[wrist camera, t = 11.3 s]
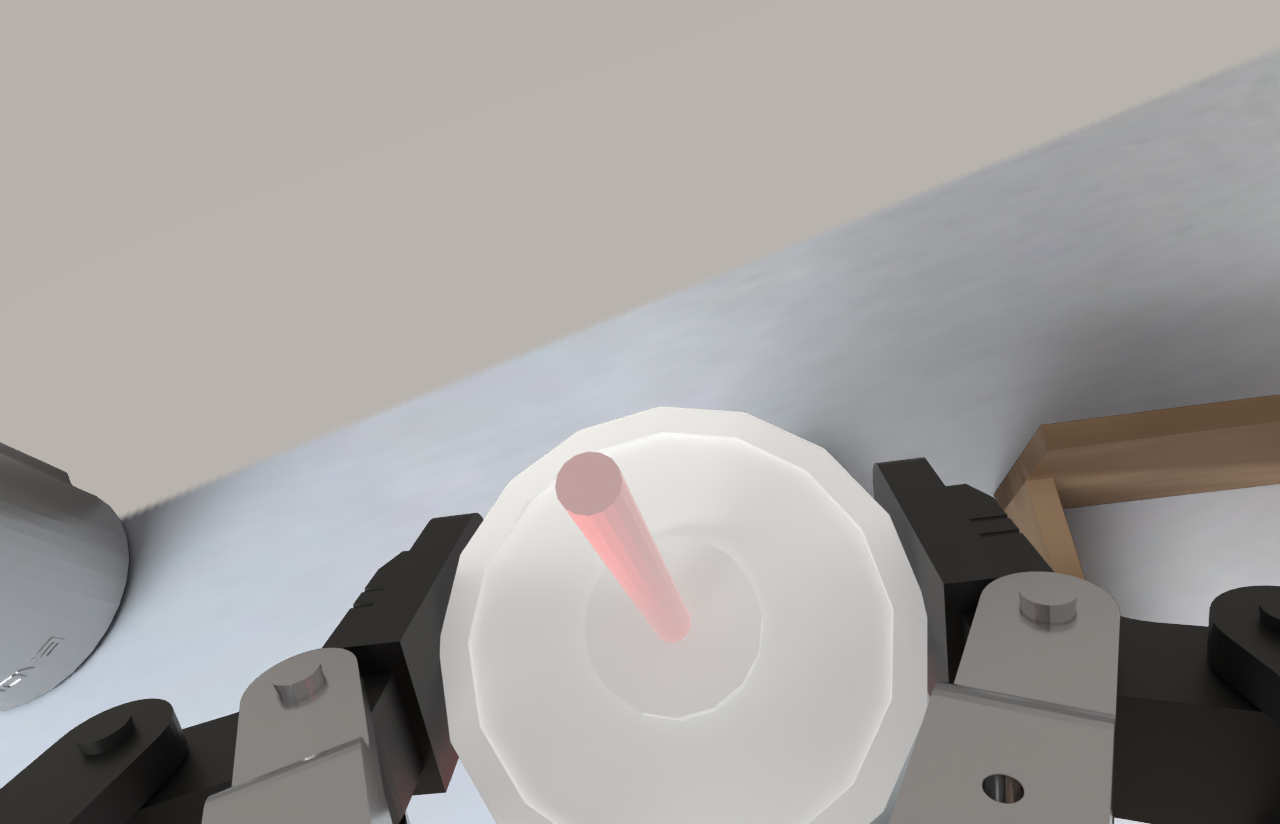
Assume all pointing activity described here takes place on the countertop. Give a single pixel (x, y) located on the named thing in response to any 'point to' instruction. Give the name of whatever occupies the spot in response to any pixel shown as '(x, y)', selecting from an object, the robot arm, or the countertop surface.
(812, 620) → the beverage cup
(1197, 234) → the countertop surface
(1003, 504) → the walnut bay
